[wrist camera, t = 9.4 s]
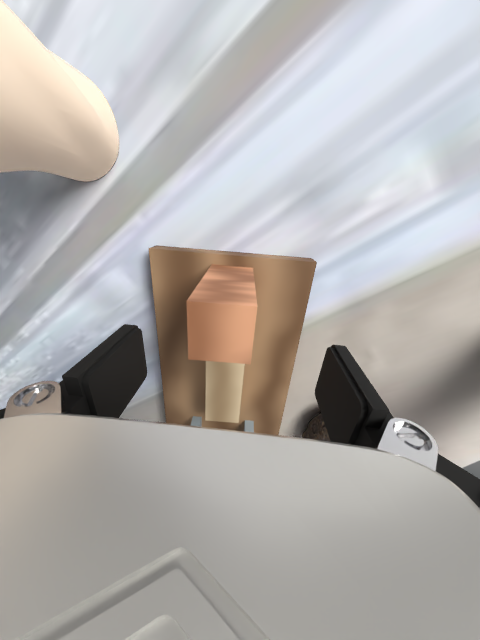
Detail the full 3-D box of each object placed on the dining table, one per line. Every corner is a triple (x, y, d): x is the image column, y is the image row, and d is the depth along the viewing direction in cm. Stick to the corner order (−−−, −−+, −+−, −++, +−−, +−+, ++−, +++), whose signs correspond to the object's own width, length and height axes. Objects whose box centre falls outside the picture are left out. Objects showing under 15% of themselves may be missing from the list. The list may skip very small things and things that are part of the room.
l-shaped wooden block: (252, 267, 21) (257, 306, 12) (239, 403, 29) (236, 488, 20) (211, 264, 21) (186, 301, 12) (209, 401, 29) (192, 485, 20)
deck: (311, 258, 23) (316, 262, 21) (264, 479, 40) (265, 491, 38) (156, 245, 23) (148, 248, 21) (175, 472, 40) (172, 484, 38)
